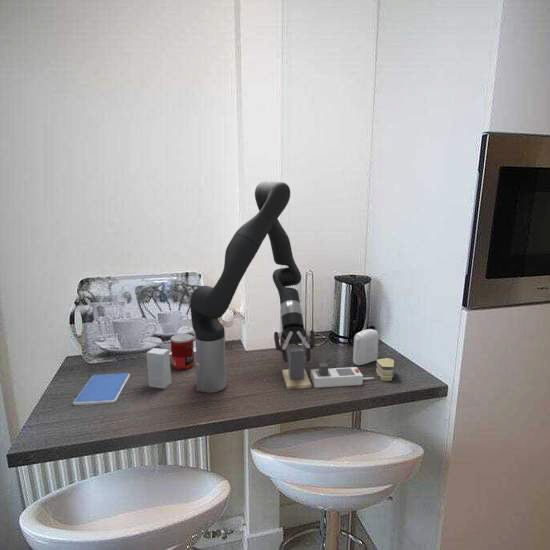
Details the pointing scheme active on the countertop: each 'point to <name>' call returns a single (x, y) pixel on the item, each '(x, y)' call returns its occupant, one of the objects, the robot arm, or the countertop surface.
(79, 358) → the countertop surface
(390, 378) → the yellow layered block
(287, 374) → the board
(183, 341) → the canned food
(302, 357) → the block
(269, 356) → the countertop surface
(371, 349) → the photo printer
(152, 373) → the skincare box
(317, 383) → the power strip
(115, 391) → the tablet computer
